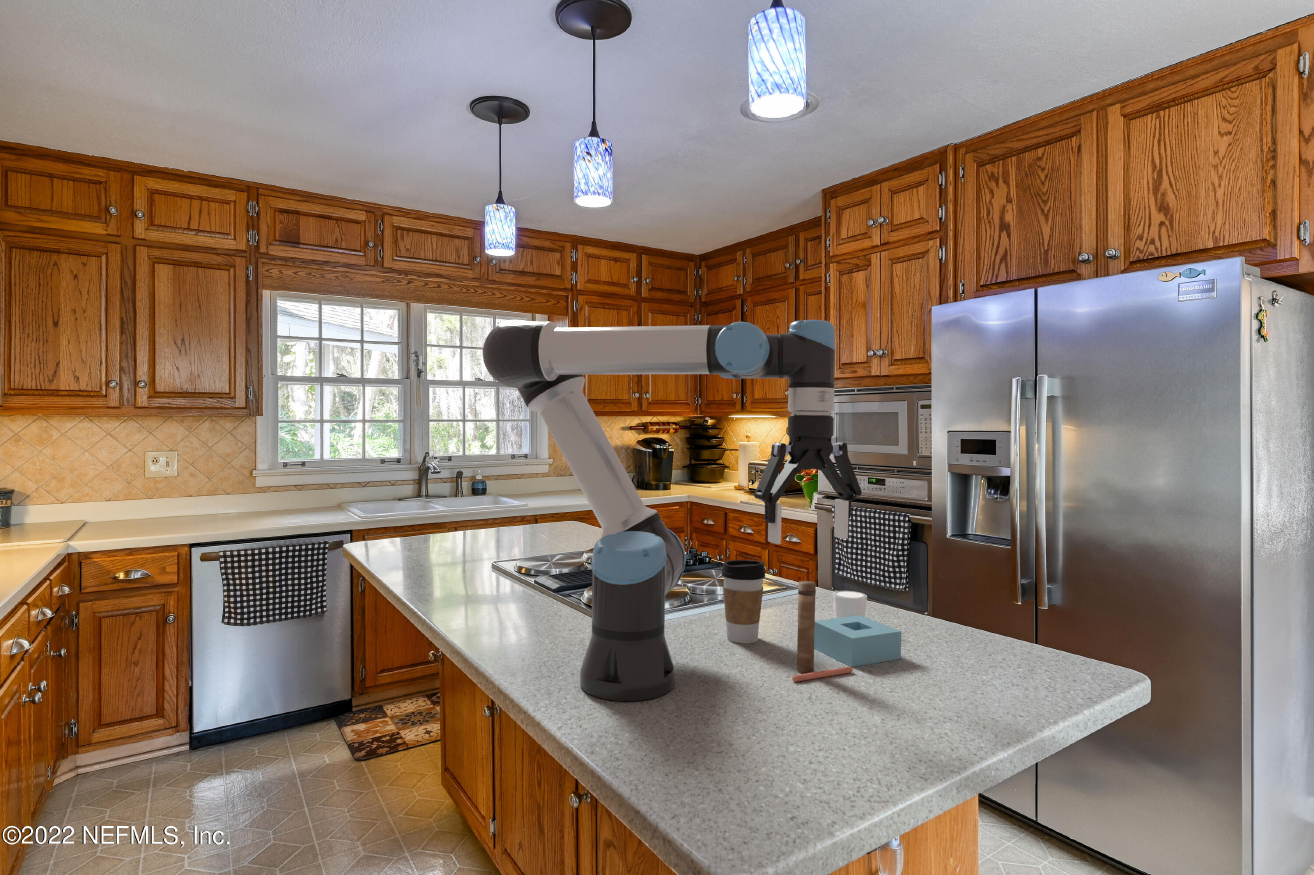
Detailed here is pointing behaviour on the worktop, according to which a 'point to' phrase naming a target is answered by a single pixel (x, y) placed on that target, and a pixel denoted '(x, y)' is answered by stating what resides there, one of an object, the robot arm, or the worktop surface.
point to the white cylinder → (849, 603)
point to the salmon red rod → (822, 674)
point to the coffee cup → (743, 599)
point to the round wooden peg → (806, 626)
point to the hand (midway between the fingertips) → (808, 540)
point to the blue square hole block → (857, 640)
